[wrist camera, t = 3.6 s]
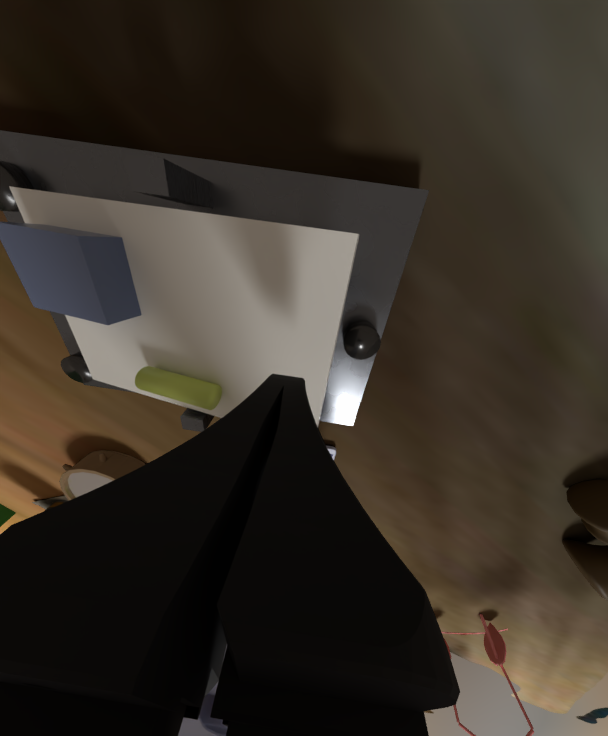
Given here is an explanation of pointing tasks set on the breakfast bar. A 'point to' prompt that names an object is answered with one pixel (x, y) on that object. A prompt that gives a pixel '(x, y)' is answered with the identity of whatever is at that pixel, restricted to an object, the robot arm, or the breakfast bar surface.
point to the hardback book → (5, 514)
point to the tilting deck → (184, 295)
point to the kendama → (603, 520)
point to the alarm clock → (96, 472)
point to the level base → (243, 200)
